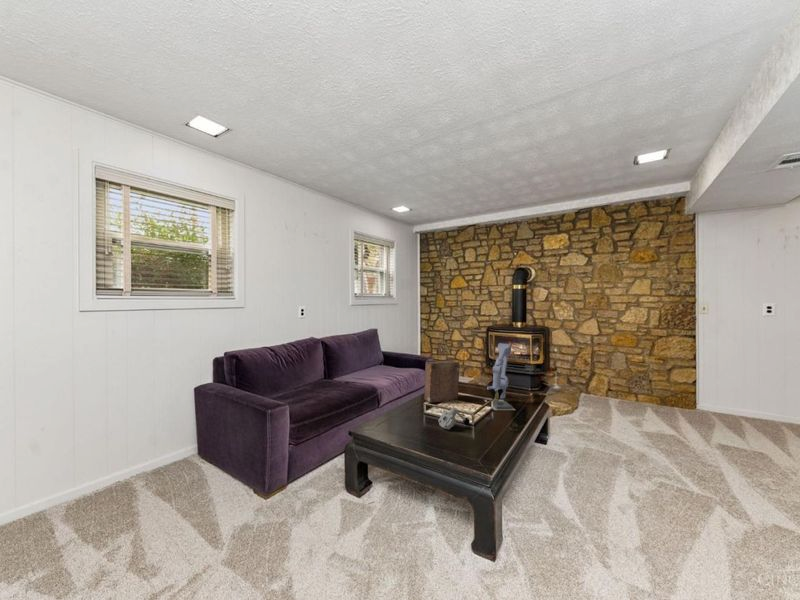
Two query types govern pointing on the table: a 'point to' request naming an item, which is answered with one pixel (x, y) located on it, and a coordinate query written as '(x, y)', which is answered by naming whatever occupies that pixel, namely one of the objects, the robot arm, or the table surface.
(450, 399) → the book
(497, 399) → the brass rounded knob
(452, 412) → the mechanical valve
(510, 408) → the socket plate
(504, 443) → the table surface
